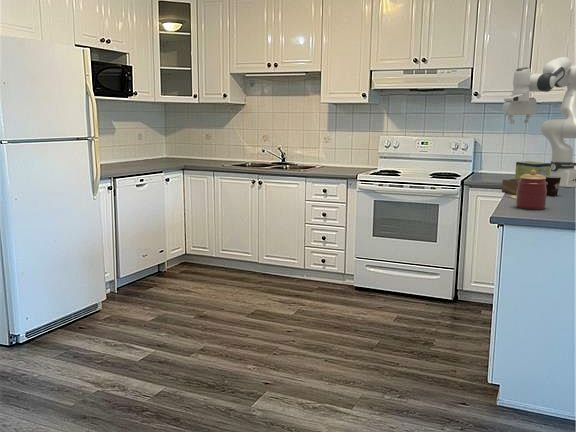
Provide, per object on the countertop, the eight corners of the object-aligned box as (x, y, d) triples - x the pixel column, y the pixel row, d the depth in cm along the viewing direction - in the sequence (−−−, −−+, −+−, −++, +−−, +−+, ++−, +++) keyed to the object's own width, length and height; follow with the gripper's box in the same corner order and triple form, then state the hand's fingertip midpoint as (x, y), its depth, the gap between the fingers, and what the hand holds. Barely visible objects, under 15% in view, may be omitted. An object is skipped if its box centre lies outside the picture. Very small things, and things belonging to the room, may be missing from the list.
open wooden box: (520, 191, 309) (520, 178, 307) (535, 194, 297) (536, 181, 296) (501, 192, 305) (502, 179, 304) (516, 195, 294) (517, 182, 293)
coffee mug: (554, 194, 298) (555, 175, 296) (562, 196, 290) (564, 177, 288) (532, 194, 298) (534, 175, 296) (540, 196, 289) (542, 177, 287)
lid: (525, 196, 294) (526, 187, 293) (543, 200, 282) (543, 190, 281) (504, 197, 290) (505, 188, 289) (521, 201, 278) (522, 191, 277)
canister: (525, 204, 268) (527, 167, 264) (551, 207, 257) (554, 170, 254) (509, 207, 260) (512, 169, 257) (536, 211, 250) (539, 172, 246)
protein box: (526, 187, 323) (528, 160, 320) (549, 190, 309) (551, 163, 306) (513, 188, 319) (515, 161, 316) (535, 192, 305) (538, 164, 302)
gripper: (532, 97, 311) (530, 122, 314) (501, 98, 305) (500, 123, 308) (540, 97, 305) (538, 122, 308) (509, 98, 299) (507, 124, 302)
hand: (519, 123), depth 308 cm, fingers open, 8 cm apart
